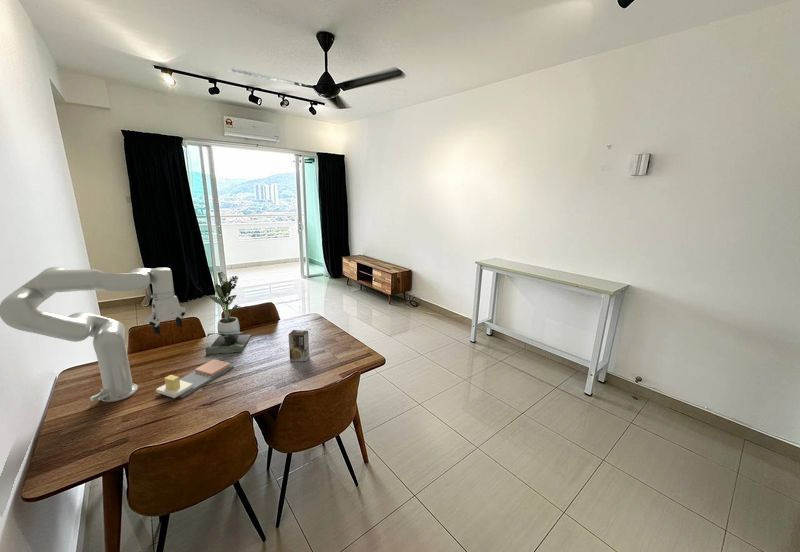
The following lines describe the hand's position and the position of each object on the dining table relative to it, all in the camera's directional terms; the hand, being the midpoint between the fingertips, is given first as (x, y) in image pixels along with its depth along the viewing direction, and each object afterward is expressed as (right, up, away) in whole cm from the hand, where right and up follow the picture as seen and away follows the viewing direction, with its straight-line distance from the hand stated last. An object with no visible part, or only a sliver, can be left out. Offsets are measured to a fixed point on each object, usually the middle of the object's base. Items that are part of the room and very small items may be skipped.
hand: (168, 330), depth 146 cm
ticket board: (+10, -25, +8) cm, 28 cm away
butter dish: (+6, -26, -4) cm, 27 cm away
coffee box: (+51, -22, +30) cm, 63 cm away
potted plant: (+5, -17, +43) cm, 47 cm away
